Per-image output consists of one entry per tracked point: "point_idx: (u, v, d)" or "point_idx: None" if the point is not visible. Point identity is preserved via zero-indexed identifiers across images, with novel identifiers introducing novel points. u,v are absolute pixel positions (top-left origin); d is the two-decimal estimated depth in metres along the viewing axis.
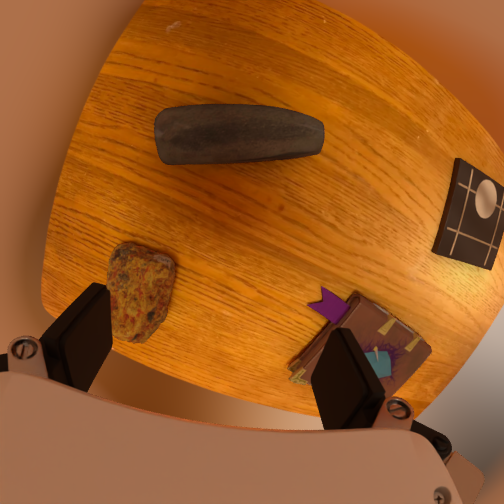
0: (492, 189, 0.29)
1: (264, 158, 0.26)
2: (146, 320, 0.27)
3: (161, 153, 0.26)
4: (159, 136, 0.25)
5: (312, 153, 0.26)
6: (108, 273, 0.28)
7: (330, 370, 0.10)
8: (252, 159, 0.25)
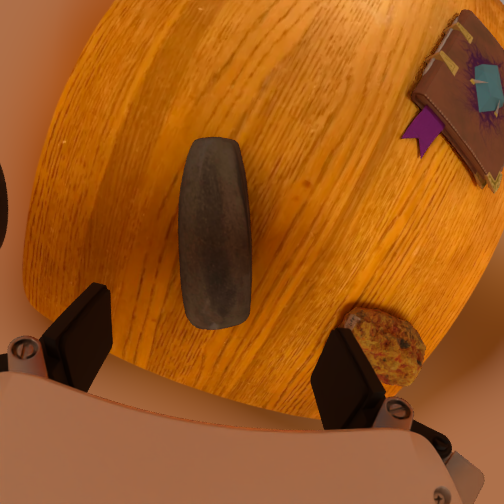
0: None
1: (246, 215, 0.21)
2: (406, 351, 0.23)
3: (236, 322, 0.25)
4: (217, 325, 0.25)
5: (237, 151, 0.20)
6: None
7: (330, 370, 0.10)
8: (247, 229, 0.22)
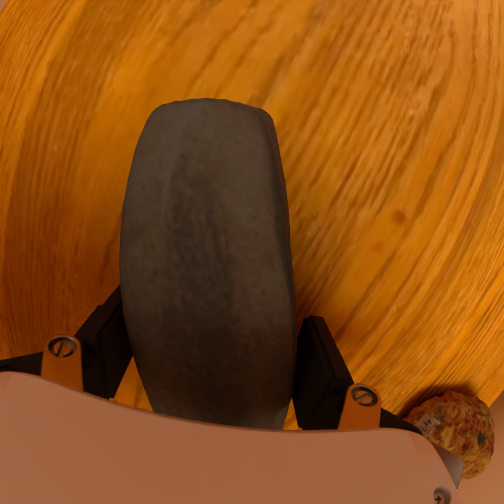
0: None
1: (293, 309, 0.08)
2: (483, 447, 0.10)
3: None
4: None
5: (272, 139, 0.07)
6: None
7: (302, 357, 0.10)
8: (294, 341, 0.08)
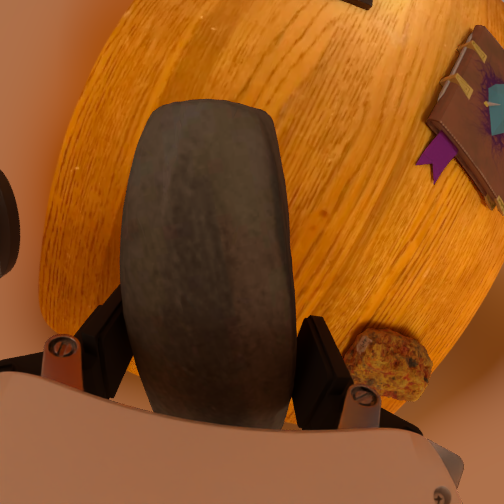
0: None
1: (293, 310, 0.08)
2: (414, 369, 0.23)
3: None
4: None
5: (272, 140, 0.07)
6: None
7: (302, 357, 0.10)
8: (294, 341, 0.09)
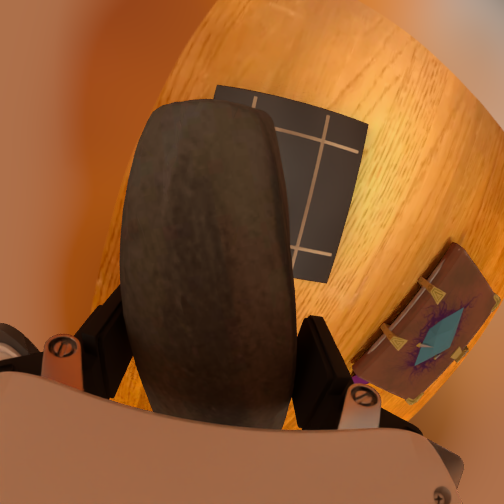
0: None
1: (293, 310, 0.08)
2: None
3: None
4: None
5: (273, 140, 0.07)
6: None
7: (302, 357, 0.10)
8: (294, 342, 0.08)
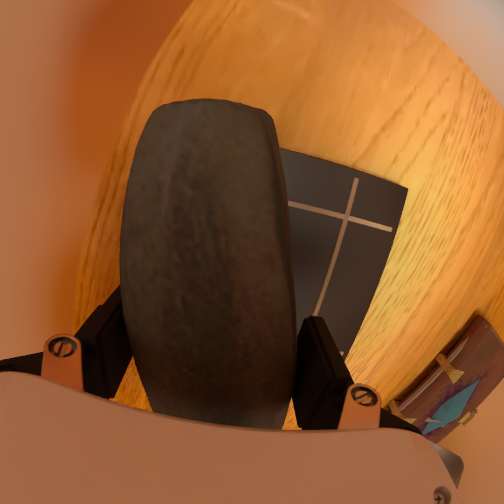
0: None
1: (293, 310, 0.08)
2: None
3: None
4: None
5: (273, 140, 0.07)
6: None
7: (302, 357, 0.10)
8: (294, 342, 0.08)
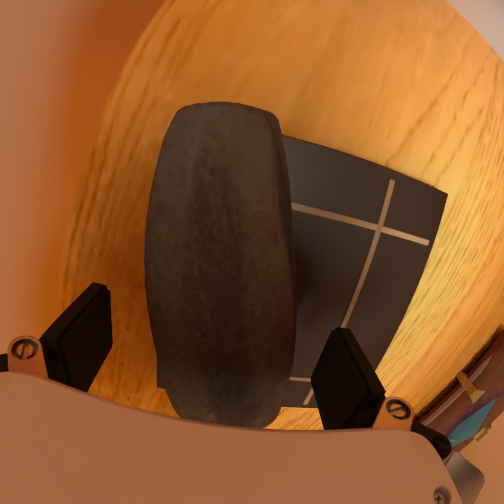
0: None
1: (294, 282, 0.10)
2: None
3: None
4: None
5: (278, 137, 0.09)
6: None
7: (330, 370, 0.10)
8: (294, 311, 0.10)
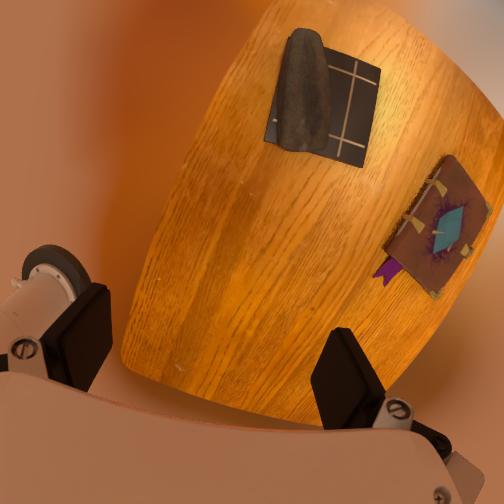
0: None
1: None
2: None
3: (319, 147, 0.31)
4: (306, 146, 0.31)
5: None
6: None
7: (330, 370, 0.10)
8: (330, 77, 0.28)
